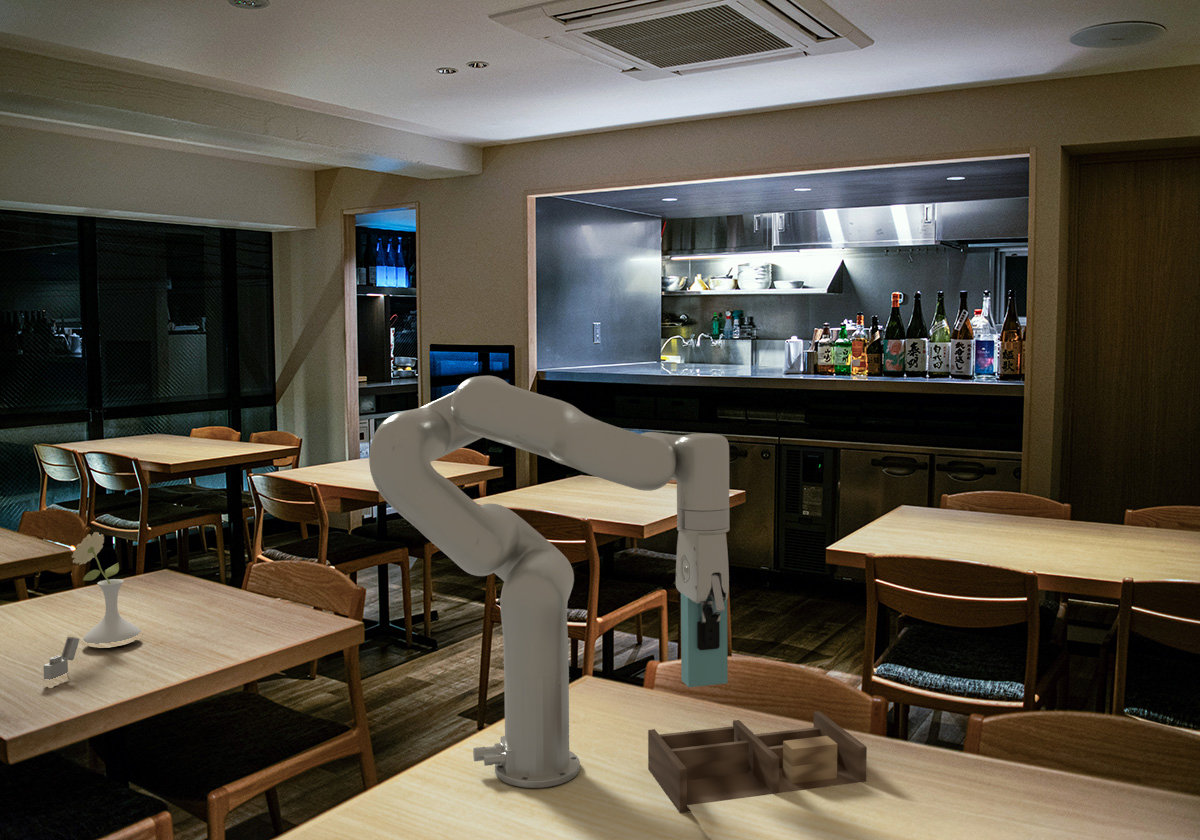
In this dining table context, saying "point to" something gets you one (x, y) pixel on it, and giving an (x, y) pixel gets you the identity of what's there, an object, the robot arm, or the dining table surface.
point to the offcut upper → (809, 751)
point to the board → (701, 663)
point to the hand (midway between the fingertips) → (703, 643)
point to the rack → (742, 762)
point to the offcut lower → (809, 772)
